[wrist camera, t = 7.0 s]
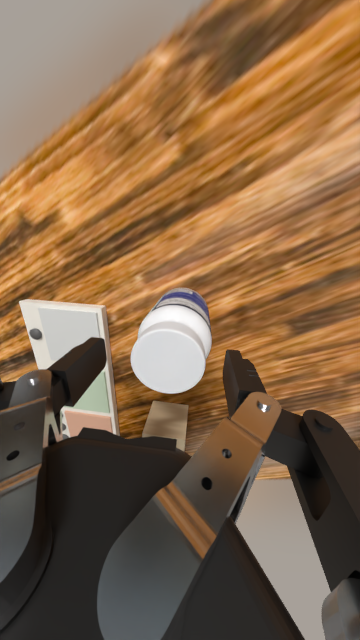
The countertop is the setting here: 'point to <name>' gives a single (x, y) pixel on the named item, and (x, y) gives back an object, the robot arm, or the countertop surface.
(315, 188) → the countertop surface
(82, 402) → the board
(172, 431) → the maple block
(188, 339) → the pill bottle
